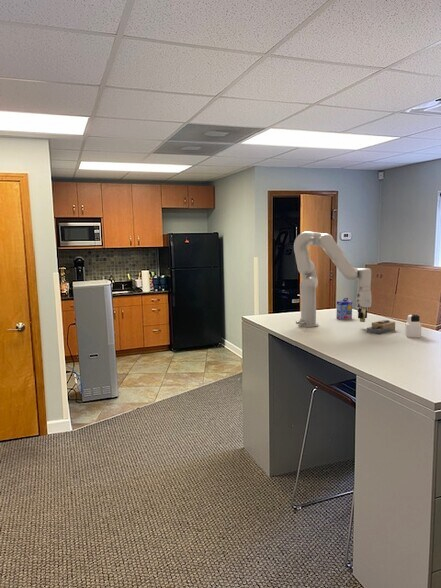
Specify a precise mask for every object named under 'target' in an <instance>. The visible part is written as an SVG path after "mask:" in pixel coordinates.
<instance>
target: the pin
mask: <svg viewBox="0 0 441 588" xmlns="http://www.w3.org/2000/svg"><path fill="white" fill-rule="evenodd" d="M360 309H361V308H360ZM365 313H366V307H365V308H363V319H360V318H359V322H360V323H365V322H366V318H365Z"/></svg>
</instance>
